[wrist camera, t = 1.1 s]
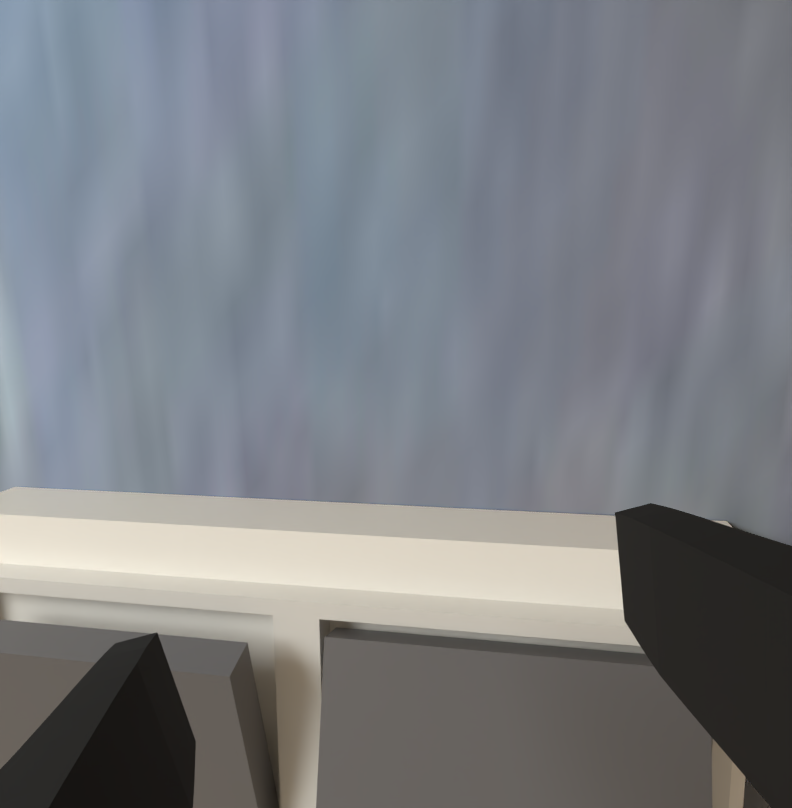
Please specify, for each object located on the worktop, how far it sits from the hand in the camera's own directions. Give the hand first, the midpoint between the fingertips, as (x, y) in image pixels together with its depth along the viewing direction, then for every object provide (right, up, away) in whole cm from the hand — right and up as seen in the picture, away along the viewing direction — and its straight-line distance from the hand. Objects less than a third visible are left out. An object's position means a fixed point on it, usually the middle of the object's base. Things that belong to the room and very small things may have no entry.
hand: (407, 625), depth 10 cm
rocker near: (+3, -7, +7) cm, 10 cm away
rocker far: (-9, -7, +10) cm, 15 cm away
